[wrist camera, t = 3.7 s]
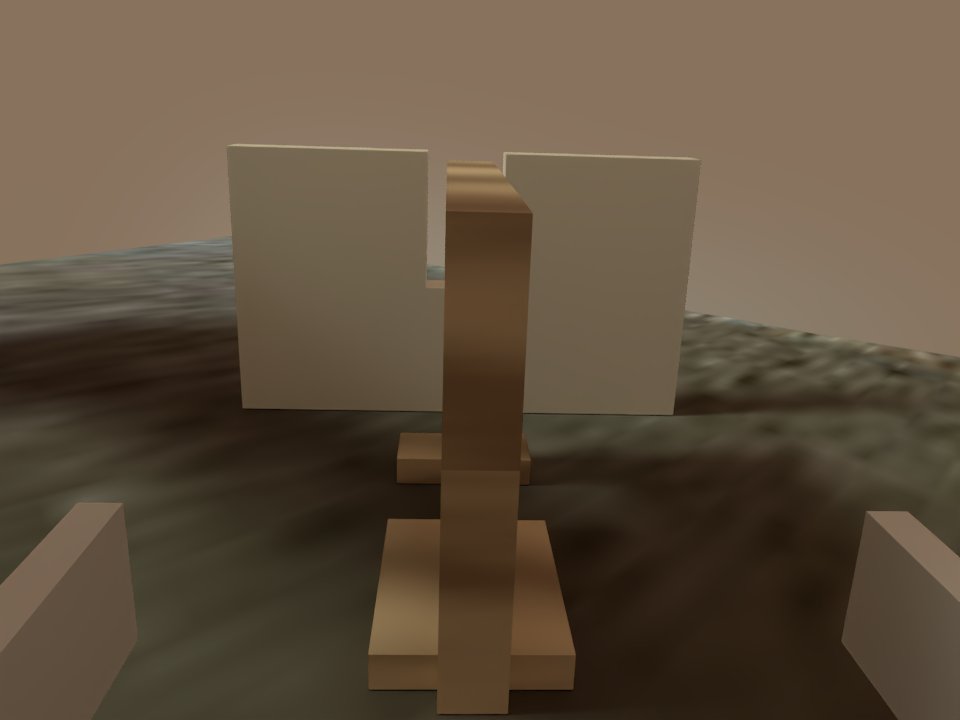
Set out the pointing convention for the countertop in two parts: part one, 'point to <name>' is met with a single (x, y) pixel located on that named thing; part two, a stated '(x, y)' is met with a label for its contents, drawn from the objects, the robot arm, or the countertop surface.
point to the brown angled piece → (474, 487)
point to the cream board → (420, 302)
